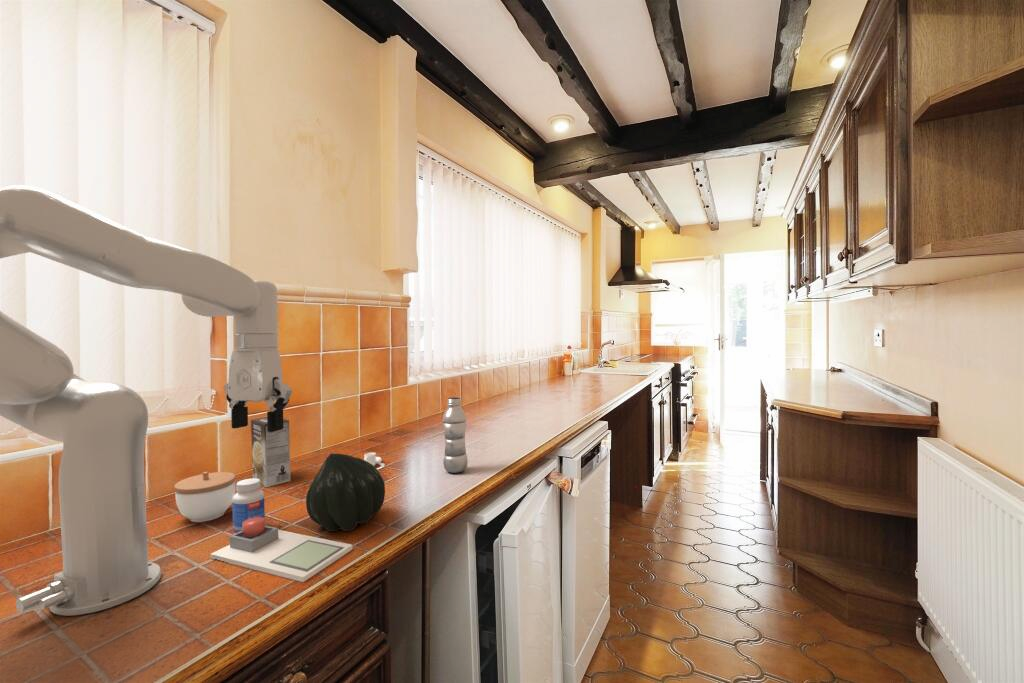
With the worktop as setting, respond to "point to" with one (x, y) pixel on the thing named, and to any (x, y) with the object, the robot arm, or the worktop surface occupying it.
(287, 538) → the white flat board
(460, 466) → the plastic bottle
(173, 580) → the worktop surface
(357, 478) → the squash
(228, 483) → the lidded jar
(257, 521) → the button
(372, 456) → the teacup and saucer
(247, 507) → the pill bottle
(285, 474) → the coffee box
